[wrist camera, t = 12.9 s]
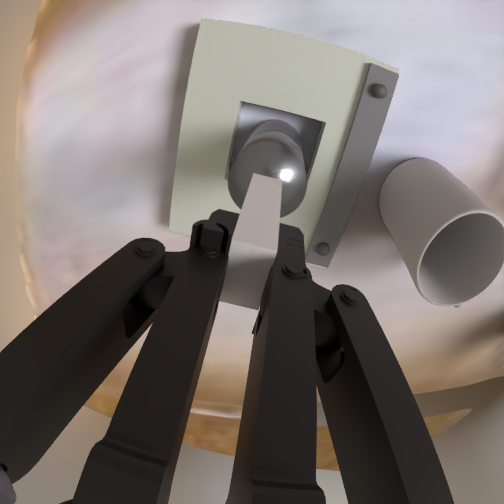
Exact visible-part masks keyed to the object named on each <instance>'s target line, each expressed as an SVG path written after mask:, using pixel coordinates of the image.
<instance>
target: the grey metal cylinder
mask: <svg viewBox="0 0 504 504" xmlns="http://www.w3.org/2000/svg"><path fill="white" fill-rule="evenodd" d="M253 173H255V174H259V175H263V176H267V177H271V178H275V179H279V180H282V193H281V208H280V218H282V217H285V216H287V215H289V214H291V213H292V212H293V211H295V210H296V209H297V208H298V207H299V205H300V204H301V203H302V201H303V199H304V197H305V194H306V190H307V178H306V171H305V165H304V158H303V152H302V145H301V140H300V136H299V134H298V132H297V131H296V130H295V128H294V127H293V126H291V125H290V124H288V123H287V122H284V121H281V120H268V121H265V122H262V123H260V124H259V125H258V126H257V127H255V129H254V130H253V131H252V133H251V135H250V136H249V138H248V139H247V141H246V143H245V144H244V146H243V148H242V149H241V151H240V153H239V154H238V156H237V158H236V159H235V161H234V163H233V164H232V166H231V168H230V171H229V174H228V190H229V193H230V196H231V198H232V200H233V201H234V203H235V204H236V205H237V206H238V207H239V208H240V209H242V206H243V203H244V200H245V197H246V194H247V191H248V188H249V185H250V182H251V179H252V176H253Z"/></svg>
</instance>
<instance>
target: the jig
mask: <svg viewBox="0 0 504 504" xmlns="http://www.w3.org/2000/svg"><path fill="white" fill-rule="evenodd" d="M399 70H400V69H398V68H395V67H393V66H391V65H388V64H386V63H384V62H381V61H379V60H376V59H374V58H371V57H368V56H366V55H363V54H360V53H357V52H355V51H352V50H349V49H346V48H343V47H340V46H337V45H334V44H330V43H327V42H324V41H320V40H317V39H313V38H310V37H306V36H302V35H298V34H294V33H290V32H285V31H281V30H276V29H271V28H266V27H261V26H256V25H250V24H244V23H237V22H230V21H222V20H213V19H203V18H201V22H200V26H199V31H198V35H197V40H196V44H195V49H194V54H193V58H192V63H191V69H190V74H189V79H188V84H187V90H186V96H185V102H184V108H183V114H182V120H181V127H180V134H179V141H178V148H177V156H176V164H175V172H174V181H173V190H172V200H171V211H170V222H169V230H170V231H174V232H178V233H182V234H186V235H190V236H191V233H192V225H193V224H194V223H195V222H197V221H200V220H207V219H209V217H210V215H211V213H212V212H214V211H216V210H218V209H222V210H226V211H230V212H234V213H239V214H240V212H241V209H240V208H239V207H238V206H237V205H236V204H235V203H234V201H233V200H232V198H231V196H230V193H229V190H228V174H229V172H228V170H229V165H230V160H231V155H232V150H233V145H234V141H235V136H236V131H237V126H238V122H239V117H240V113H241V108H242V104H243V101H244V102H249V103H253V104H258V105H262V106H267V107H271V108H275V109H279V110H283V111H287V112H291V113H295V114H298V115H302V116H306V117H309V118H313V119H316V120H319V121H323V123H322V126H321V129H320V133H319V136H318V140H317V143H316V146H315V150H314V153H313V156H312V159H311V163H310V166H309V169H308V172H307V176H306V178H307V190H306V194H305V197H304V199H303V201H302V203H301V204H300V205H299V207H298V208H297V209H296V210H295V211H293V212H292V213H291V214H289V215H287V216H285V217H282V218H280V222H279V223H283V224H286V225H290V226H294V227H298V228H299V229H300V230H301V232H302V233H303V234H304V246H305V248H304V249H305V263H306V264H308V265H312V266H316V267H320V268H324V269H327V268H328V266H329V264H330V262H331V259H332V257H333V255H334V253H335V250H336V248H337V246H338V243H339V241H340V238H341V236H342V234H343V231H344V229H345V226H346V224H347V222H348V219H349V217H350V214H351V212H352V209H353V207H354V204H355V202H356V199H357V197H358V194H359V191H360V189H361V186H362V184H363V181H364V178H365V176H366V173H367V170H368V167H369V165H370V162H371V159H372V156H373V154H374V151H375V148H376V145H377V142H378V139H379V137H380V134H381V131H382V128H383V125H384V122H385V119H386V116H387V112H388V109H389V106H390V103H391V100H392V97H393V93H394V90H395V87H396V83H397V80H398V77H399Z"/></svg>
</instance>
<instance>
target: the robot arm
mask: <svg viewBox="0 0 504 504" xmlns="http://www.w3.org/2000/svg"><path fill="white" fill-rule="evenodd" d="M281 193H282V180H279V179H275V178H271V177H267V176H263V175H259V174H255V173H253V176H252V179H251V182H250V185H249V188H248V191H247V194H246V197H245V200H244V203H243V206H242V209H241V212H240V214H239V213H234V212H230V211H226V210H222V209H218V210H216V211H214V212H212V213H211V215H210V217H209V219H207V220H200V221H197V222H195V223H194V224H193V225H192V233H191V241H190V247H189V249H188V250H186V251H181V252H165V247H164V245H163V244H162V243H161V242H159V241H158V240H155V239H152V238H139V239H135V240H133V241H131V242H129V243H128V244H127V245H125V246H124V247H123V248H121V249H120V250H119V251H117V252H116V253H115V254H114V255H112V256H111V257H110V258H108V259H107V260H106V261H105V262H103V263H102V264H101V265H100V266H98V267H97V268H96V269H94V270H93V271H92V272H91V273H89V274H88V275H87V276H86V277H85V278H83V279H82V280H81V281H80V282H78V283H77V284H76V285H75V286H74V287H72V288H71V289H70V290H69V291H68V292H66V293H65V294H64V295H63V296H62V297H61V298H59V299H58V300H57V301H56V302H55V303H54V304H52V305H51V306H50V307H49V308H48V309H47V310H45V311H44V312H43V313H42V314H41V315H40V316H39V317H38V318H36V319H35V320H34V321H33V322H32V323H31V324H30V325H29V326H28V327H27V328H25V329H24V330H23V331H22V332H21V333H20V334H19V335H18V336H17V337H16V338H15V339H14V340H13V341H12V342H11V343H9V344H8V345H7V346H6V347H5V348H4V349H3V350H2V351H1V352H0V504H14V503H15V502H16V493H15V491H14V490H13V486H12V484H13V483H15V482H16V481H18V480H20V479H21V478H22V477H23V476H24V475H25V474H27V473H28V472H29V471H30V470H31V469H32V468H33V467H34V466H35V465H36V463H37V462H38V461H39V460H40V459H41V458H42V456H43V455H44V454H45V453H46V451H47V450H48V449H49V447H50V446H51V445H52V444H53V442H54V441H55V440H56V439H57V437H58V436H59V435H60V433H61V432H62V431H63V430H64V428H65V427H66V426H67V425H68V423H69V422H70V421H71V420H72V418H73V417H74V416H75V415H76V413H77V412H78V411H79V410H80V409H81V407H82V406H83V405H84V404H85V402H86V401H87V400H88V399H89V398H90V396H91V395H92V394H93V393H94V392H95V390H96V389H97V388H98V387H99V385H100V384H101V383H102V382H103V381H104V379H105V378H106V377H107V376H108V375H109V373H110V372H111V371H112V370H113V369H114V367H115V366H116V365H117V364H118V363H119V362H120V360H121V359H122V358H123V357H124V356H125V354H126V353H127V352H128V351H129V350H130V349H131V347H132V346H133V345H134V344H135V343H136V341H137V340H138V339H139V338H140V337H141V336H142V334H143V333H144V332H145V331H146V330H147V329H148V327H149V326H150V325H151V324H152V323H153V324H152V326H151V328H150V330H149V332H148V335H147V337H146V339H145V341H144V344H143V346H142V348H141V350H140V353H139V355H138V357H137V360H136V362H135V364H134V366H133V369H132V371H131V374H130V376H129V378H128V381H127V383H126V385H125V388H124V390H123V393H122V395H121V398H120V400H119V402H118V405H117V407H116V410H115V412H114V415H113V417H112V420H111V423H110V425H109V428H108V430H107V433H106V435H105V437H104V438H103V439H102V440H100V441H99V442H97V443H96V444H95V445H94V447H93V448H92V449H91V451H90V453H89V456H88V458H87V461H86V463H85V466H84V469H83V471H82V474H81V477H80V480H79V483H78V486H77V489H76V492H75V494H74V497H73V499H71V500H68V501H65V502H62V503H60V504H168V501H169V496H170V491H171V485H172V481H173V476H174V472H175V468H176V464H177V460H178V456H179V452H180V448H181V444H182V441H183V437H184V433H185V429H186V425H187V421H188V417H189V413H190V409H191V406H192V402H193V398H194V394H195V390H196V387H197V383H198V379H199V375H200V372H201V368H202V364H203V360H204V357H205V353H206V349H207V346H208V342H209V338H210V335H211V331H212V327H213V324H214V320H215V316H216V313H217V308H218V303H219V301H222V302H226V303H230V304H234V305H239V306H243V307H247V308H251V309H256V310H258V309H259V306H260V310H259V313H258V316H257V319H256V322H255V325H254V328H253V331H252V334H254V338H253V344H252V351H251V358H250V364H249V371H248V378H247V384H246V391H245V397H244V403H243V410H242V416H241V422H240V429H239V435H238V441H237V447H236V453H235V459H234V466H233V472H232V478H231V484H230V490H229V494H228V498H227V501H226V503H225V504H326V499H325V495H324V492H323V490H322V489H321V488H320V487H319V486H318V485H317V482H316V441H317V405H316V404H317V392H316V385H317V388H318V392H319V395H320V399H321V402H322V406H323V409H324V413H325V417H326V420H327V424H328V428H329V431H330V435H331V439H332V442H333V446H334V450H335V454H336V457H337V461H338V465H339V469H340V472H341V476H342V480H343V484H344V488H345V492H346V496H347V500H348V504H454V502H453V499H452V495H451V493H450V489H449V486H448V483H447V480H446V477H445V475H444V472H443V469H442V466H441V463H440V461H439V458H438V455H437V453H436V450H435V447H434V445H433V442H432V440H431V437H430V434H429V432H428V429H427V427H426V425H425V422H424V420H423V417H422V415H421V412H420V410H419V408H418V406H417V403H416V401H415V398H414V397H413V394H412V392H411V389H410V387H409V385H408V383H407V380H406V378H405V376H404V374H403V372H402V369H401V367H400V365H399V363H398V361H397V359H396V357H395V355H394V353H393V350H392V348H391V346H390V344H389V342H388V340H387V338H386V336H385V334H384V332H383V330H382V328H381V326H380V324H379V322H378V320H377V318H376V316H375V314H374V312H373V310H372V309H371V307H370V305H369V303H368V301H367V299H366V297H365V296H364V295H363V294H362V293H361V292H360V291H359V290H358V289H356V288H354V287H352V286H349V285H344V284H341V285H336V286H335V287H333V289H332V291H330V290H328V289H326V288H324V287H322V286H320V285H318V284H316V283H315V282H314V281H313V280H312V275H311V272H310V270H309V269H308V268H307V267H306V263H305V249H304V248H305V246H304V234H303V233H302V232H301V230H300V229H299V228H298V227H294V226H290V225H286V224H283V223H279V222H280V208H281Z"/></svg>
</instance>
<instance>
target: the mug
mask: <svg viewBox="0 0 504 504" xmlns="http://www.w3.org/2000/svg"><path fill="white" fill-rule="evenodd" d="M379 208H380V213H381V216H382V219H383V221H384V223H385V225H386V227H387V228H388V230H389V232H390V234H391V235H392V237H393V239H394V241H395V243H396V245H397V247H398V249H399V251H400V253H401V255H402V258H403V260H404V262H405V264H406V266H407V268H408V270H409V273H410V275H411V277H412V279H413V281H414V284H415V286H416V288H417V289H418V291H419V293H420V294H421V295H422V297H424V298H425V299H426V300H427V301H429V302H430V303H432V304H435V305H439V306H454V307H458V308H459V307H462V306H463V305H465V303H466V302H468V301H470V300H472V299H474V298H476V297H477V296H479V295H480V294H481V293H483V292H484V291H485V290H486V289H487V288H488V287H489V286H490V285H491V284H492V283H493V282H494V281H495V279H496V278H497V277H498V275H499V273H500V272H501V270H502V268H503V266H504V222H503V221H502V219H501V218H500V217H499V216H498V214H497V213H496V212H495V211H494V210H493V209H492V208H490V207H489V206H488V205H487V204H486V203H485V202H484V201H483V200H482V199H481V198H480V197H478V196H477V195H476V194H475V193H474V192H473V191H472V190H470V189H469V188H468V187H467V186H466V185H465V184H463V183H462V182H461V181H460V180H459V179H457V178H456V177H455V176H454V175H453V174H452V173H450V172H449V171H448V170H447V169H446V168H445V167H443V166H442V165H440V164H439V163H437V162H435V161H433V160H430V159H424V158H416V159H411V160H408V161H405V162H403V163H401V164H400V165H398V166H397V167H396V168H394V169H393V170H392V171H391V172H390V173H389V175H388V176H387V178H386V179H385V181H384V183H383V185H382V188H381V191H380V196H379Z"/></svg>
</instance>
